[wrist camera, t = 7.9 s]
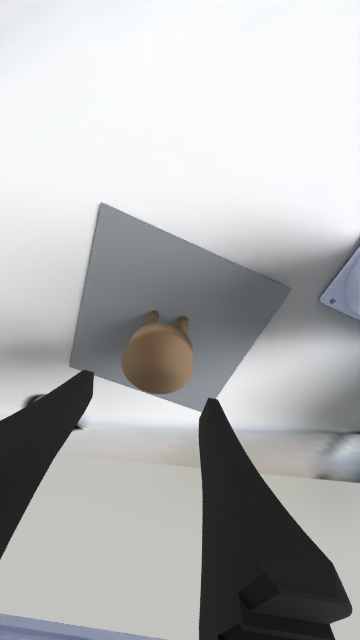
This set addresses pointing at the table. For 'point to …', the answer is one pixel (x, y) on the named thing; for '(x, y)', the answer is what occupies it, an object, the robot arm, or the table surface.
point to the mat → (168, 303)
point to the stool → (159, 356)
